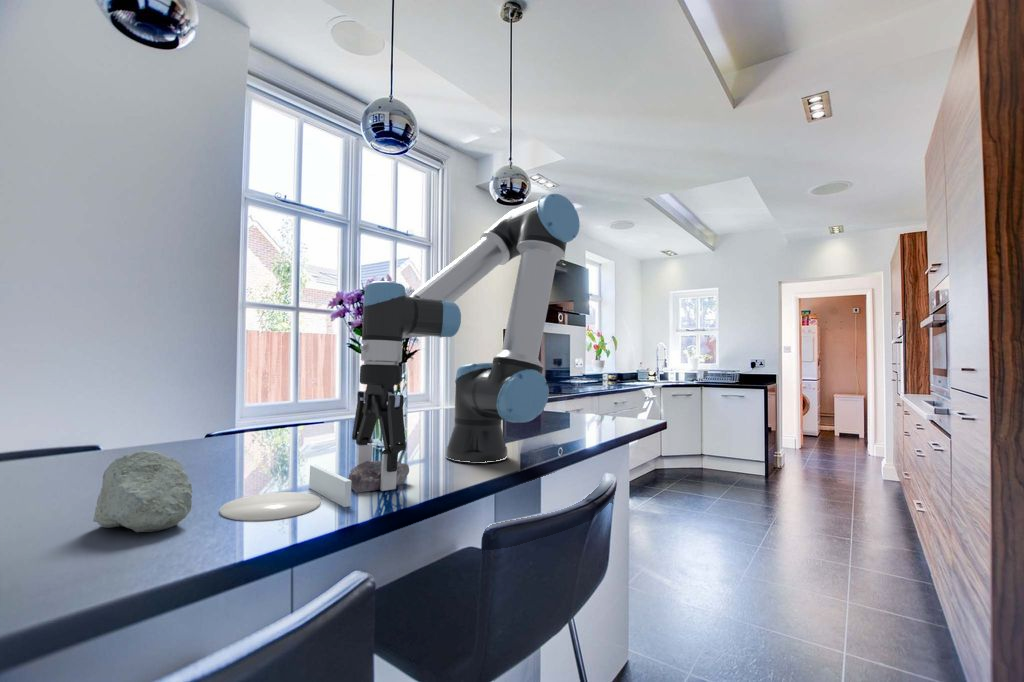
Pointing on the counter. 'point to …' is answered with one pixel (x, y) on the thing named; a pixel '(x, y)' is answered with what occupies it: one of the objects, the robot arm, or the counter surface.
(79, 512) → the counter surface
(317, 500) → the pad
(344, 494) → the divider wall
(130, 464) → the decorative stone
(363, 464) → the rock
